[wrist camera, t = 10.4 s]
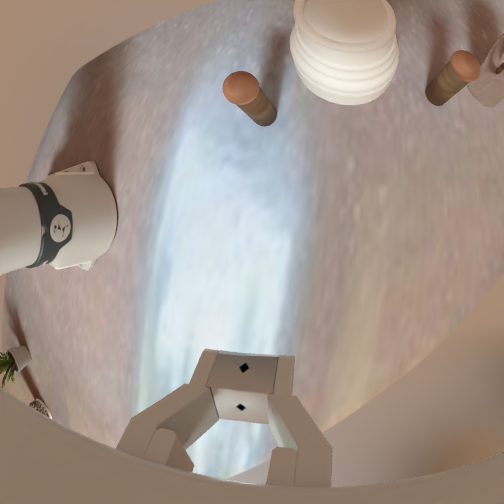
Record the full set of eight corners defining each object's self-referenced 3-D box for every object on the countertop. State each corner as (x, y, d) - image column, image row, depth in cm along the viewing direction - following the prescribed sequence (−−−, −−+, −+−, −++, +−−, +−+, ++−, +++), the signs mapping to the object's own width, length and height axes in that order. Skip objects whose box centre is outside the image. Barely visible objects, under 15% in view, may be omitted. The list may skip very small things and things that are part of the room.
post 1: (250, 126, 35) (214, 98, 23) (253, 102, 34) (220, 66, 23) (276, 128, 34) (251, 99, 23) (279, 103, 33) (256, 65, 22)
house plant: (12, 317, 60) (-29, 335, 44) (38, 348, 58) (-5, 373, 42) (14, 349, 64) (-22, 368, 48) (39, 379, 62) (2, 403, 46)
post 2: (424, 103, 28) (458, 68, 17) (423, 80, 27) (454, 40, 16) (447, 110, 27) (487, 80, 16) (446, 87, 27) (483, 52, 15)
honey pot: (313, 14, 29) (294, -75, 12) (402, 46, 27) (435, -35, 10) (280, 84, 33) (238, 6, 16) (375, 121, 31) (412, 59, 14)
